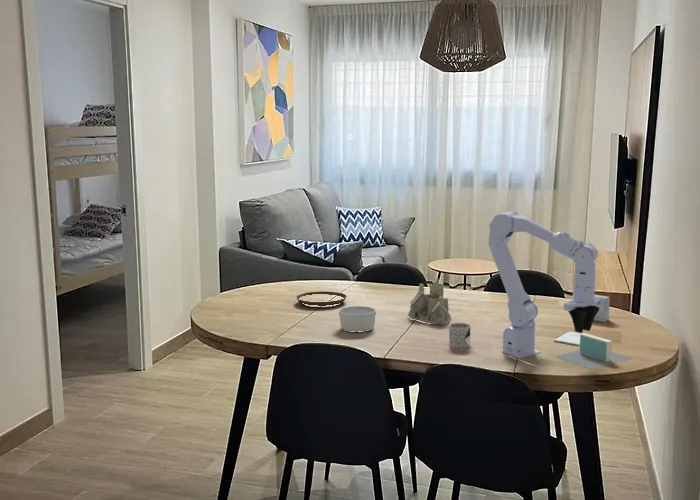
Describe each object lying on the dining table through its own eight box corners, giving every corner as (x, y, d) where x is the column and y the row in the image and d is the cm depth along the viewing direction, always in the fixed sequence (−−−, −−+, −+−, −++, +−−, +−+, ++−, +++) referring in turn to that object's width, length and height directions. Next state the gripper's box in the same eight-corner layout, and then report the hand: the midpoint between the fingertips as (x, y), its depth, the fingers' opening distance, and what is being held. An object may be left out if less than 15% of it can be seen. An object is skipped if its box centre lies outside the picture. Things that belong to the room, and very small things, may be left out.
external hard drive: (553, 344, 222) (568, 335, 231) (578, 349, 217) (592, 339, 226) (553, 339, 221) (568, 330, 231) (578, 344, 216) (592, 334, 226)
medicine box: (609, 320, 247) (610, 296, 246) (604, 322, 244) (605, 298, 243) (588, 316, 253) (589, 293, 251) (583, 318, 250) (583, 295, 248)
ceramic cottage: (409, 312, 262) (410, 275, 259) (452, 315, 259) (453, 277, 256) (404, 326, 247) (405, 286, 244) (449, 329, 244) (451, 289, 241)
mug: (470, 349, 217) (470, 328, 216) (448, 348, 218) (449, 328, 217) (470, 339, 227) (470, 320, 225) (449, 339, 228) (450, 319, 227)
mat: (591, 370, 195) (591, 369, 195) (553, 357, 207) (553, 356, 206) (632, 359, 204) (632, 358, 204) (593, 347, 216) (593, 346, 216)
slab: (606, 361, 201) (607, 342, 200) (578, 353, 209) (579, 334, 208) (611, 360, 202) (612, 340, 201) (584, 351, 210) (584, 333, 209)
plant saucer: (317, 296, 295) (317, 288, 294) (356, 301, 283) (356, 294, 282) (286, 305, 278) (285, 297, 278) (326, 312, 266) (326, 304, 266)
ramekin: (357, 322, 251) (357, 303, 250) (384, 328, 242) (383, 309, 241) (331, 329, 242) (330, 310, 241) (357, 336, 233) (357, 316, 232)
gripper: (578, 291, 192) (576, 338, 194) (612, 285, 199) (610, 330, 201) (558, 287, 198) (557, 332, 200) (592, 281, 205) (590, 324, 207)
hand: (582, 331), depth 201 cm, fingers open, 3 cm apart
